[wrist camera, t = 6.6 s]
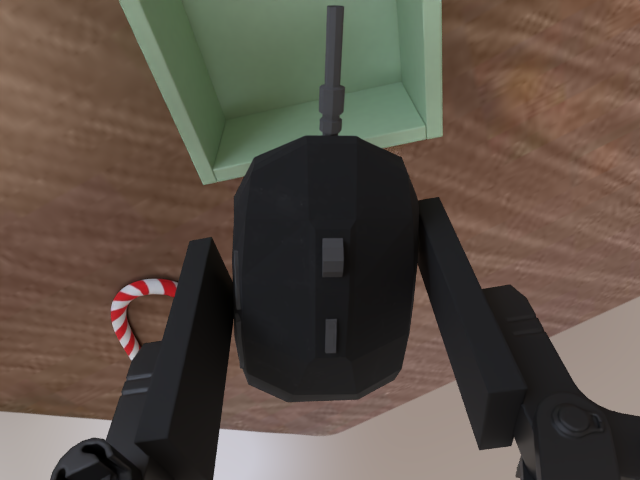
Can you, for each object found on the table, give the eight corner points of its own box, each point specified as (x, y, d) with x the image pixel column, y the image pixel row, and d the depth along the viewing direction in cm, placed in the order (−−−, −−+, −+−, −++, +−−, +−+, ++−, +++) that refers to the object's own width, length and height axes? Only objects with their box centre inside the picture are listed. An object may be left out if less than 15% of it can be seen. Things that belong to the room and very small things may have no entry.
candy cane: (116, 381, 43) (103, 280, 34) (120, 369, 44) (108, 269, 35) (194, 386, 45) (203, 292, 35) (196, 375, 45) (205, 281, 36)
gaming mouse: (468, 6, 10) (547, 62, 7) (384, 364, 19) (402, 453, 16) (195, -1, 9) (151, 56, 6) (247, 367, 19) (239, 459, 16)
